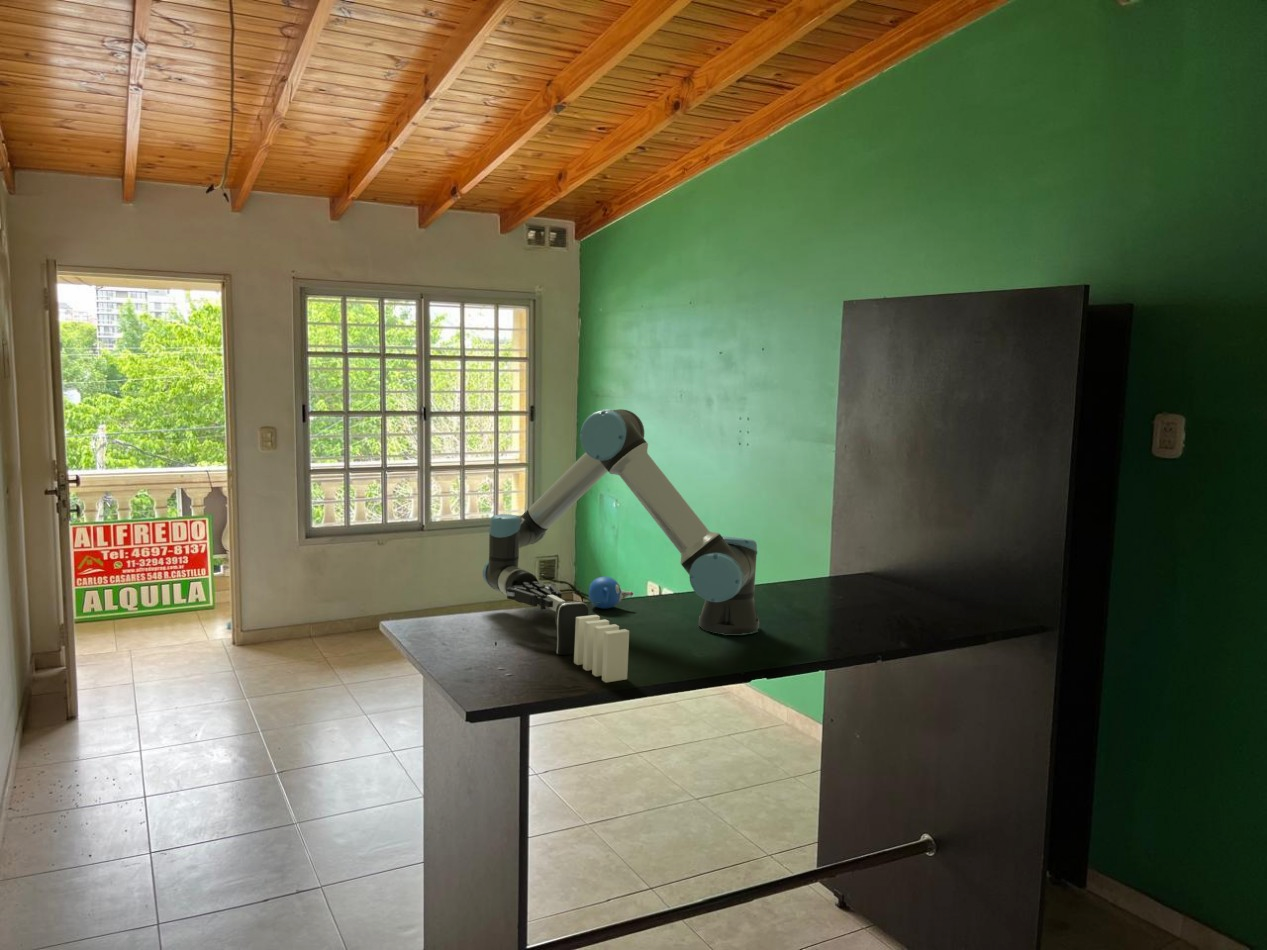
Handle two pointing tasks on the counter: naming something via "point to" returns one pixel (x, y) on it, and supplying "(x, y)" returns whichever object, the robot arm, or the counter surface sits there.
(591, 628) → the tile
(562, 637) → the battery charger
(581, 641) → the tile
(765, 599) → the counter surface
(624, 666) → the tile
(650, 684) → the counter surface
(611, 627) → the tile
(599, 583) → the blue mole toy
